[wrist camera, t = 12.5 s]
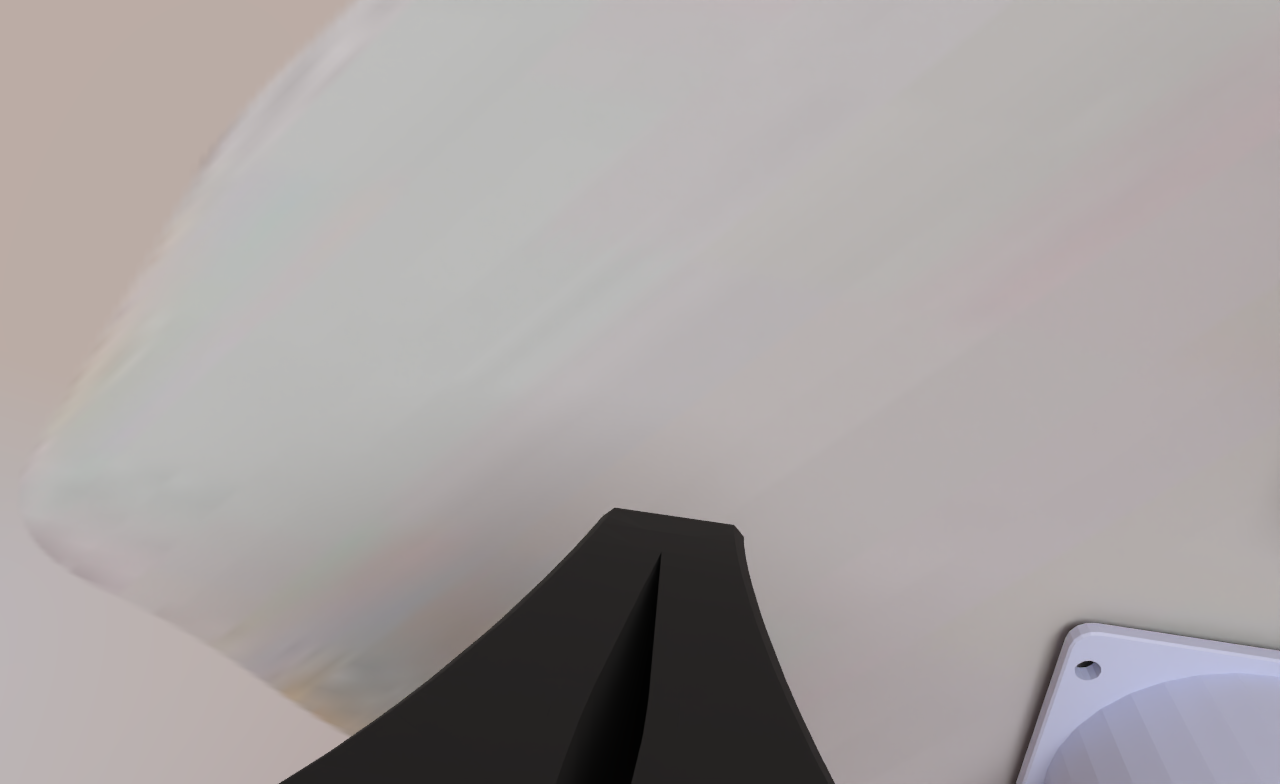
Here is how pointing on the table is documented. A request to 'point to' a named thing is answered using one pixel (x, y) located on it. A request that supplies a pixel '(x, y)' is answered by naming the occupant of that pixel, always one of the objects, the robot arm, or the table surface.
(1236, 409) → the table surface
